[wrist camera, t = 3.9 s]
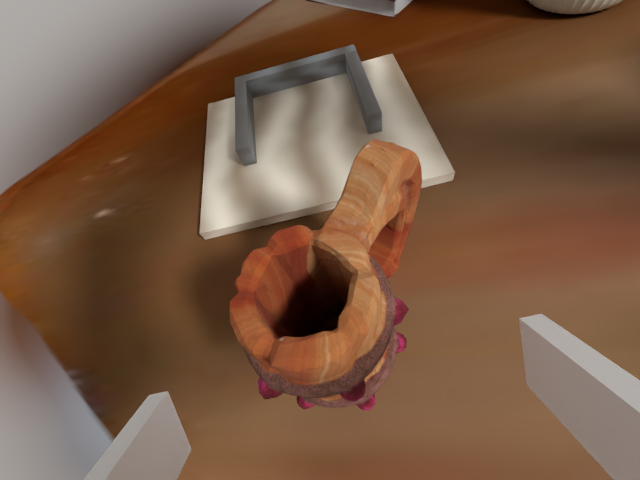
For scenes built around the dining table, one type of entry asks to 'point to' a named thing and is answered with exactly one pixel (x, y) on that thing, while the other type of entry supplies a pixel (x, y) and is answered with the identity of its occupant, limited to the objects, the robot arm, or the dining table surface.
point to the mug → (332, 289)
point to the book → (370, 5)
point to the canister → (573, 5)
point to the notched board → (306, 138)
